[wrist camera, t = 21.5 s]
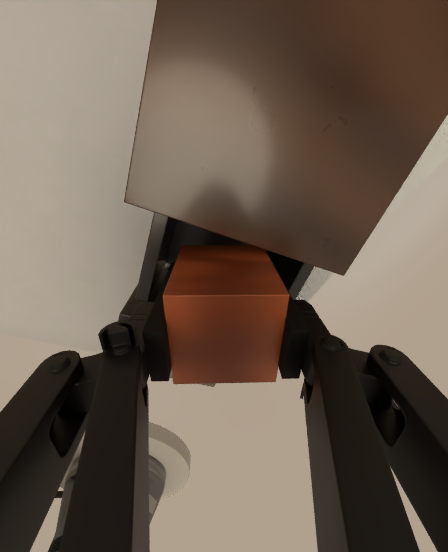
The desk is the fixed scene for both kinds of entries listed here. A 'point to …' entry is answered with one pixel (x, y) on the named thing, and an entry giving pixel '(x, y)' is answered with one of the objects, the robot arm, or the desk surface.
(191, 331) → the block
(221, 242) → the drawer
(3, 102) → the desk surface
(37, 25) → the desk surface
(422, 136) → the cabinet
